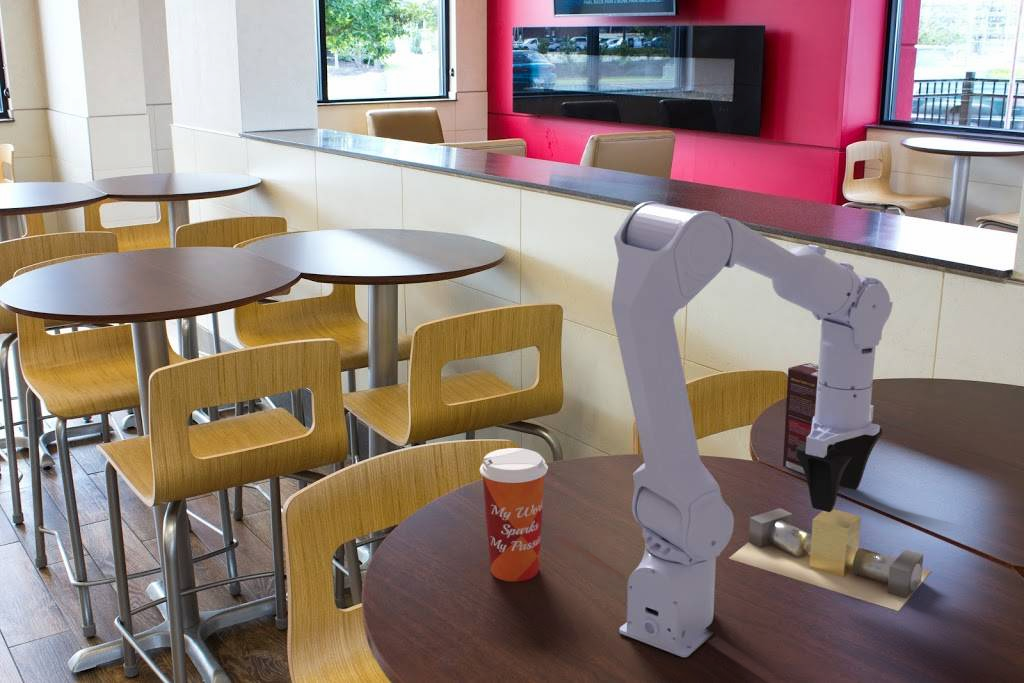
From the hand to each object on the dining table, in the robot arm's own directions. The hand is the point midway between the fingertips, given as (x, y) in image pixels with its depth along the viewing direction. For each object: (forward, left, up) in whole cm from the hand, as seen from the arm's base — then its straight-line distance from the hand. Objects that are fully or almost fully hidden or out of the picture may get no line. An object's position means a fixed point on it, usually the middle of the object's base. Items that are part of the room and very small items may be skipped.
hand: (835, 497), depth 115 cm
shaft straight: (0, -6, -8) cm, 10 cm away
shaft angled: (+1, +6, -8) cm, 11 cm away
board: (0, 0, -10) cm, 10 cm away
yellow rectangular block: (0, 0, -8) cm, 8 cm away
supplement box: (+26, +12, -10) cm, 31 cm away
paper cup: (-21, +29, -10) cm, 37 cm away
